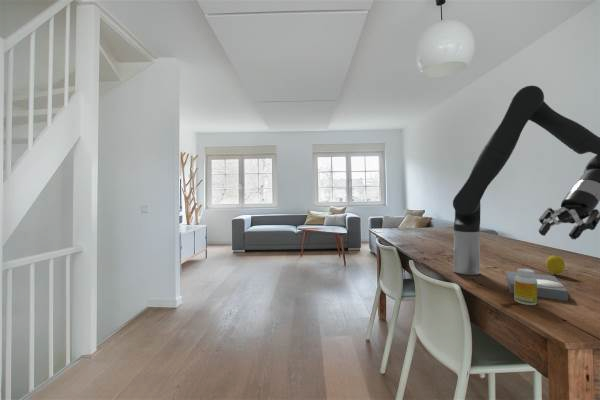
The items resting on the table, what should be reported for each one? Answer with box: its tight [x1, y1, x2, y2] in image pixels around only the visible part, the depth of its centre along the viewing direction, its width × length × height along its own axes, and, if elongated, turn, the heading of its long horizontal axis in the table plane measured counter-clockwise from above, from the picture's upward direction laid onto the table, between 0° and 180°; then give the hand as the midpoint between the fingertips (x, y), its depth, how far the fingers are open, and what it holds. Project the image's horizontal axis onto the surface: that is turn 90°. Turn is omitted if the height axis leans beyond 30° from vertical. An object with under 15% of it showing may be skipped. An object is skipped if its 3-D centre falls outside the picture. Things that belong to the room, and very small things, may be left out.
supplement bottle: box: [513, 268, 538, 306], centre depth 86 cm, size 5×5×10 cm
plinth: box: [505, 270, 569, 302], centre depth 98 cm, size 14×18×3 cm
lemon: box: [545, 254, 566, 276], centre depth 113 cm, size 6×6×8 cm
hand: (555, 235), depth 89 cm, fingers open, 8 cm apart
